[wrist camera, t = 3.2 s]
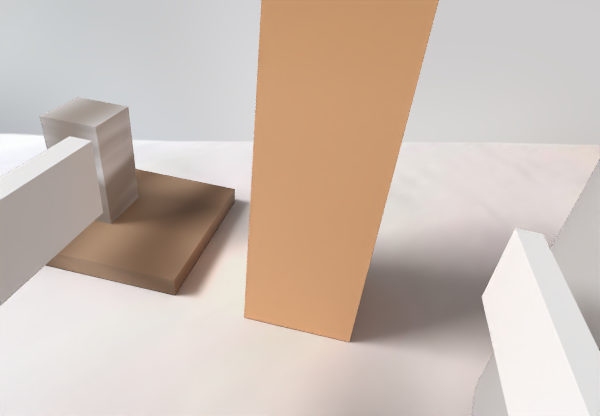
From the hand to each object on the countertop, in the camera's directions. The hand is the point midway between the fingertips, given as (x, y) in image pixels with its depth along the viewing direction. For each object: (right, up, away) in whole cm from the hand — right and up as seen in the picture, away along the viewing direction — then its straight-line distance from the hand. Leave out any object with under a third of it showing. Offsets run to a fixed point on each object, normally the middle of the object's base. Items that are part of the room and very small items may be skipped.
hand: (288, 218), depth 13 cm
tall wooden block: (+1, -5, +14) cm, 15 cm away
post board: (-14, 0, +18) cm, 23 cm away
